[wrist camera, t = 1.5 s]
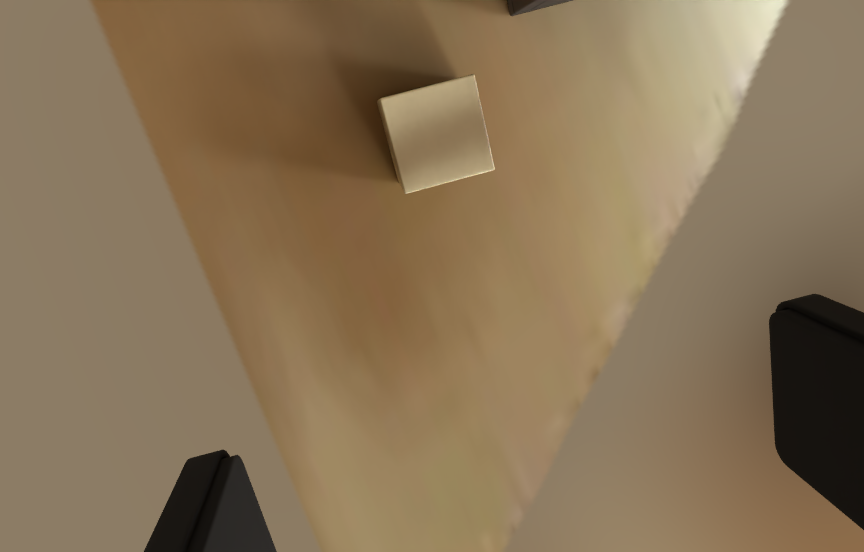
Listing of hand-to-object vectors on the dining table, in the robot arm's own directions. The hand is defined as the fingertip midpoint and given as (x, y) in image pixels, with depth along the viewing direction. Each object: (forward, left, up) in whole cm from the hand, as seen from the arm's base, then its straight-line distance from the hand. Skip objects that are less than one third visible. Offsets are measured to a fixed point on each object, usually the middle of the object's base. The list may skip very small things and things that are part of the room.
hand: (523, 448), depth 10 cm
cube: (-4, +2, -24) cm, 24 cm away
